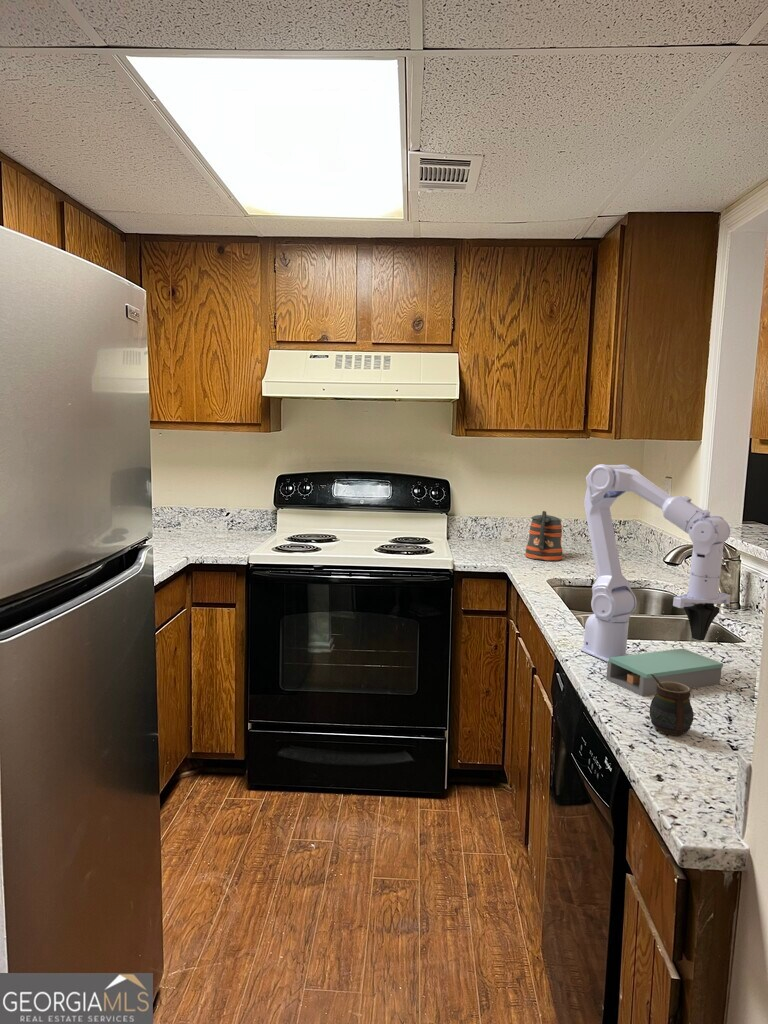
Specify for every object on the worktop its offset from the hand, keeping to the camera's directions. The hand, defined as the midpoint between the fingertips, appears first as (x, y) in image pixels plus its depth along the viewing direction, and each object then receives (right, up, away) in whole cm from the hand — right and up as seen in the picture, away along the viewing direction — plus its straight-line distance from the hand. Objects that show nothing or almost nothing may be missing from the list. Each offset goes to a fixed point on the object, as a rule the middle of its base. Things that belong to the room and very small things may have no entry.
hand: (697, 639), depth 153 cm
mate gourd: (-16, -12, -25) cm, 31 cm away
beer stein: (-2, +8, +139) cm, 139 cm away
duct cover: (-7, -5, 0) cm, 9 cm away
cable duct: (-7, -9, +1) cm, 11 cm away
